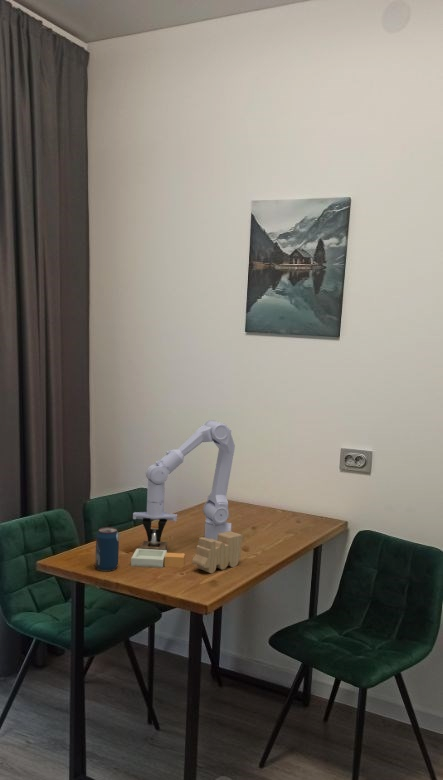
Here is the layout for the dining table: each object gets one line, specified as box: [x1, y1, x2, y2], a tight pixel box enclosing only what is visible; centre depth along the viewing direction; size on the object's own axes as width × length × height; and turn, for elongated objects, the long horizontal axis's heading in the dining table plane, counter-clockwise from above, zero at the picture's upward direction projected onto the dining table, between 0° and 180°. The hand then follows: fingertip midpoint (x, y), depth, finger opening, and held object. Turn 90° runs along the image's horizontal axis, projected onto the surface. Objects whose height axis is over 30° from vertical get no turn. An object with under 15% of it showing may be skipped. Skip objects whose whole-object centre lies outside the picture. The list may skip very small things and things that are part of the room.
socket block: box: [139, 540, 168, 551], centre depth 216 cm, size 8×8×2 cm
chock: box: [163, 552, 186, 569], centre depth 203 cm, size 6×4×4 cm, turn 88°
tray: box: [130, 548, 168, 569], centre depth 206 cm, size 10×10×2 cm
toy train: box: [191, 530, 245, 575], centre depth 203 cm, size 6×17×10 cm, turn 135°
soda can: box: [94, 526, 120, 572], centre depth 198 cm, size 7×7×12 cm
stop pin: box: [150, 528, 158, 547], centre depth 215 cm, size 3×3×7 cm
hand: (154, 540), depth 215 cm, fingers closed on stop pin, 3 cm apart
